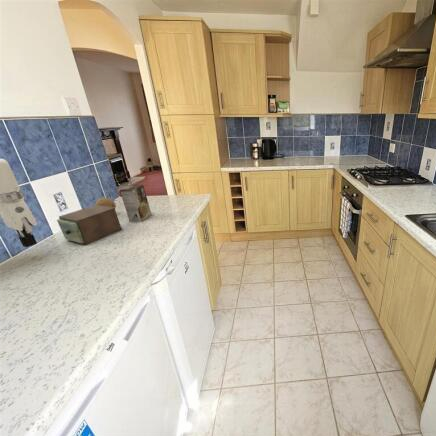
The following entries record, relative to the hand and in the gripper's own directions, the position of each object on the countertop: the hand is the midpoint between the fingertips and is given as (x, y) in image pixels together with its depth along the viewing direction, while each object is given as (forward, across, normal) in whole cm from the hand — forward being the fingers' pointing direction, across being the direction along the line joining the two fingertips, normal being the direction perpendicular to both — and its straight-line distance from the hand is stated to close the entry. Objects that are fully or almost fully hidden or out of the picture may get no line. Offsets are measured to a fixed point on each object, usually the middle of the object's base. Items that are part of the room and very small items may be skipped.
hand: (30, 245), depth 88 cm
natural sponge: (+5, +16, -36) cm, 40 cm away
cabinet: (+5, -1, -20) cm, 21 cm away
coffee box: (+5, -3, -40) cm, 41 cm away
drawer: (+4, -1, -18) cm, 18 cm away
